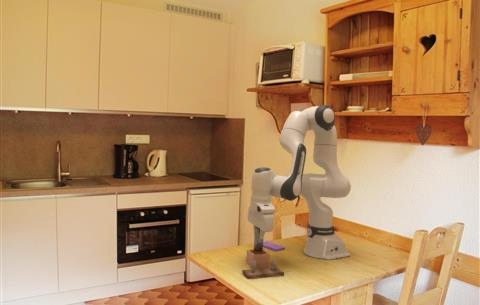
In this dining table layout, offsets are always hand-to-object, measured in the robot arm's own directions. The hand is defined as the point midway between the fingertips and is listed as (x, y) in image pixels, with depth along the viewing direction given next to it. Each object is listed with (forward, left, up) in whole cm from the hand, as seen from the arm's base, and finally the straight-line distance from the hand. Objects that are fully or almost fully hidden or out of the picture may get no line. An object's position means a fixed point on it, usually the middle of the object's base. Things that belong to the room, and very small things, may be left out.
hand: (258, 236), depth 174 cm
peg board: (+2, +10, -13) cm, 17 cm away
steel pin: (0, 0, -6) cm, 6 cm away
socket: (0, 0, -13) cm, 13 cm away
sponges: (-18, -23, -14) cm, 32 cm away
